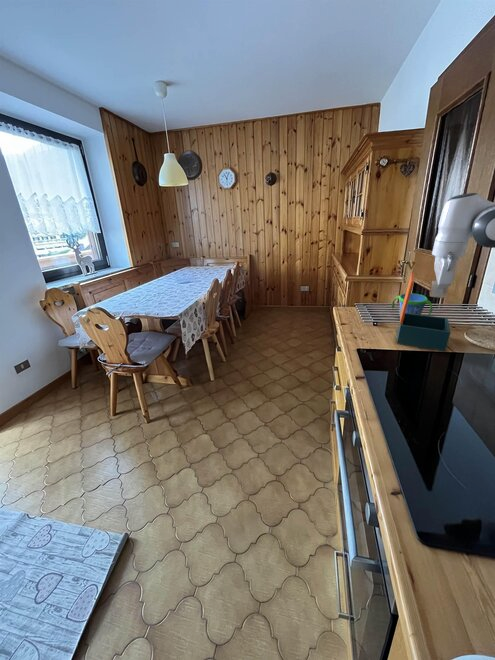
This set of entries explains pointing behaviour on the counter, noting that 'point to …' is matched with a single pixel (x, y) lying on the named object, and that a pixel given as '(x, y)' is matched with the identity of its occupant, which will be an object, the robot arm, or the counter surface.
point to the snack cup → (414, 303)
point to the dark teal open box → (424, 331)
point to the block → (434, 288)
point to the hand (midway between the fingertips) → (438, 290)
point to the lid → (407, 297)
